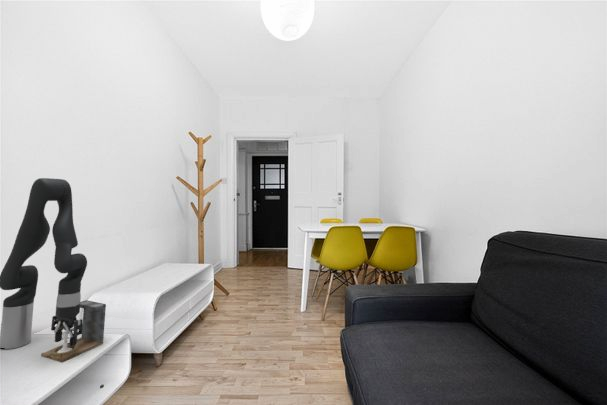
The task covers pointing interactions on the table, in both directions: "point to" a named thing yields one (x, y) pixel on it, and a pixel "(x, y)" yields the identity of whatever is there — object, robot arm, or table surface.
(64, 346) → the chess piece
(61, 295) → the robot arm
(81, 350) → the base
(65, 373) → the table surface
